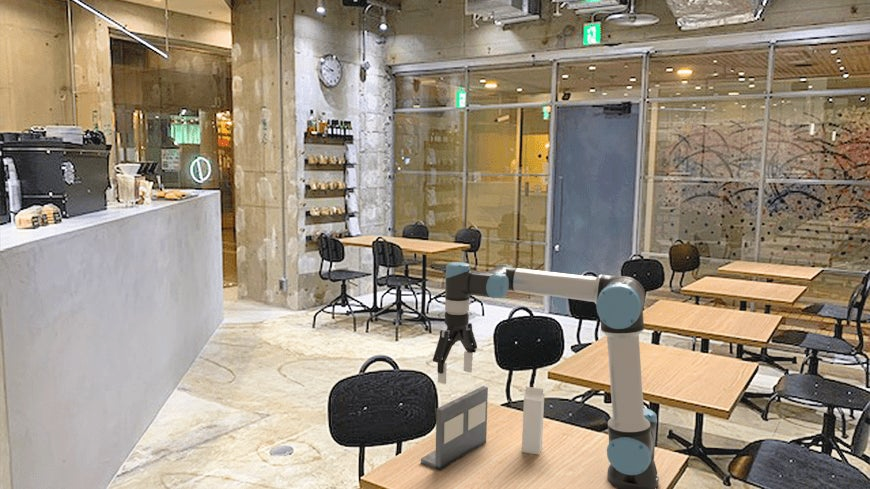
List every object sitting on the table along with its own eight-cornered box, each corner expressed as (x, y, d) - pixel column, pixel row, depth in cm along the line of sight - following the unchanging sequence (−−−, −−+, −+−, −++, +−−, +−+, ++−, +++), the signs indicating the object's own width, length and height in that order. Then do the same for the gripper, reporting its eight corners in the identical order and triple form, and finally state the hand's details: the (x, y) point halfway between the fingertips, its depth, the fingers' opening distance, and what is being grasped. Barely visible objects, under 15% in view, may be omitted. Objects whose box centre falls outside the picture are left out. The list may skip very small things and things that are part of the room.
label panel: (486, 442, 217) (488, 387, 215) (441, 471, 197) (442, 410, 194) (467, 435, 222) (468, 381, 220) (420, 462, 202) (421, 403, 199)
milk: (524, 444, 217) (527, 383, 214) (542, 447, 215) (544, 385, 212) (521, 452, 211) (523, 389, 208) (539, 455, 209) (542, 391, 206)
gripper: (470, 303, 208) (468, 364, 211) (422, 317, 189) (420, 384, 191) (489, 306, 203) (486, 369, 206) (441, 321, 184) (440, 390, 187)
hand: (455, 377), depth 199 cm, fingers open, 13 cm apart
